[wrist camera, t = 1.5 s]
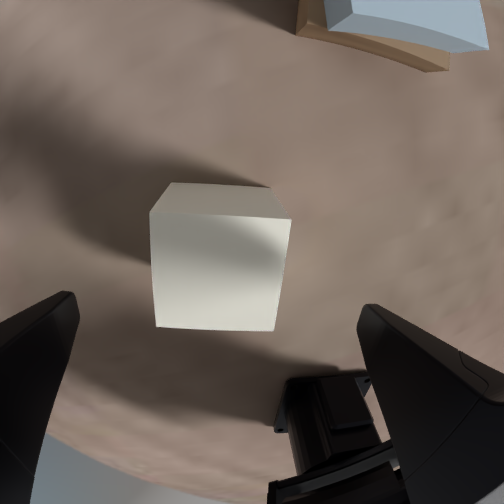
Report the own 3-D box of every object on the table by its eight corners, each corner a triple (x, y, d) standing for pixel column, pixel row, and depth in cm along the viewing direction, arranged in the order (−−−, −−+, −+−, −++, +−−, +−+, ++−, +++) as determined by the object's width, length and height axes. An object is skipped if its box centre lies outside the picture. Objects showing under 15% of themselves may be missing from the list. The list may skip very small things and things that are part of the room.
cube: (260, 274, 16) (273, 331, 12) (171, 270, 15) (156, 326, 11) (270, 187, 14) (291, 219, 10) (171, 182, 13) (149, 212, 9)
